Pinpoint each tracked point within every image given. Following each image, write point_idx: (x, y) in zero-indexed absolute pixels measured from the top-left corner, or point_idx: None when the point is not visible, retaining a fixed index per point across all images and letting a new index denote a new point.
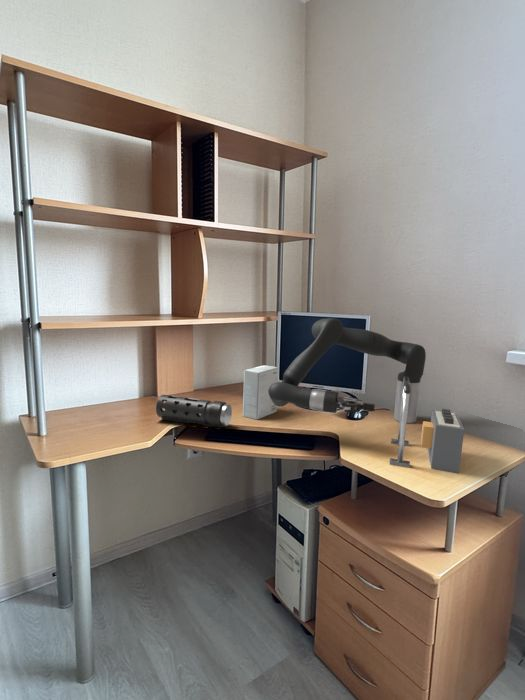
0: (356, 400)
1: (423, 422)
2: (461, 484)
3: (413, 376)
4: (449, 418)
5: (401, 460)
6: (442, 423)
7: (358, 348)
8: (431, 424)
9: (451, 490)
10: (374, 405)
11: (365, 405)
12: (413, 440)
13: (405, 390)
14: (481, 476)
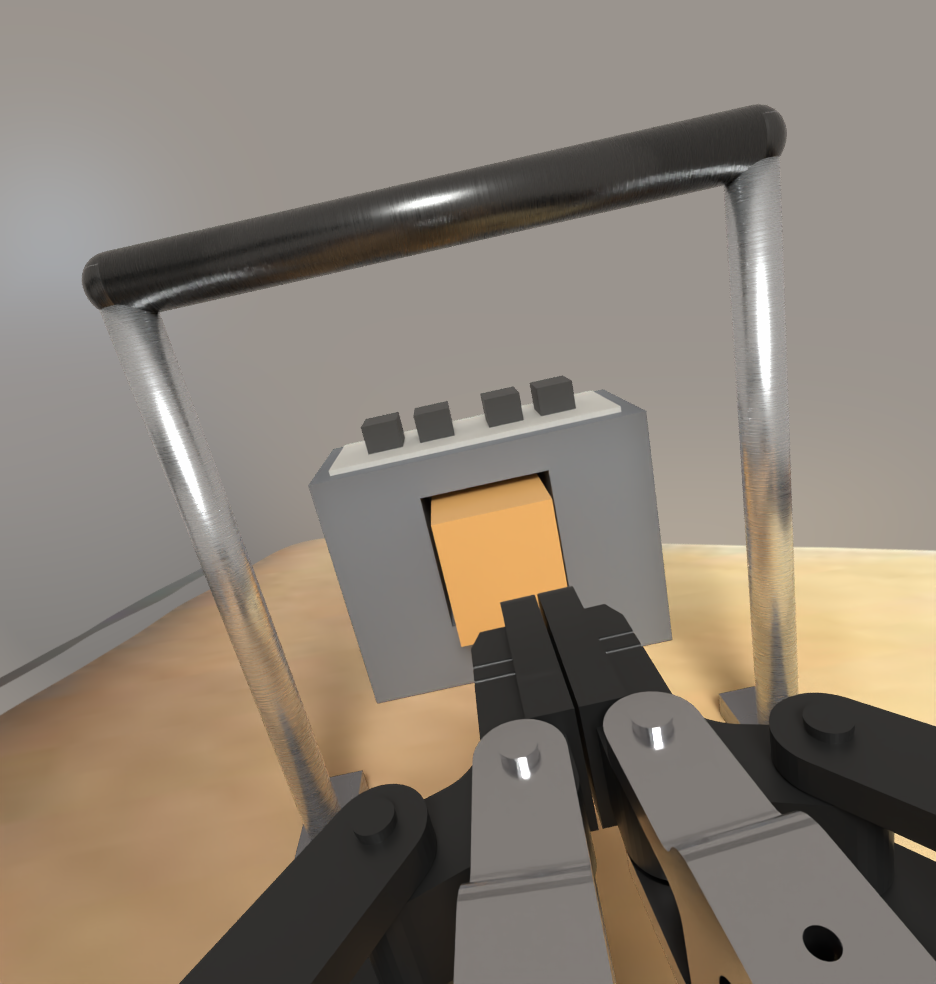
0: (561, 867)
1: (463, 517)
2: (743, 556)
3: None
4: (560, 379)
5: None
6: (591, 408)
7: None
8: (480, 497)
9: (848, 559)
10: (542, 596)
11: (652, 679)
12: (236, 790)
13: (783, 120)
14: None
